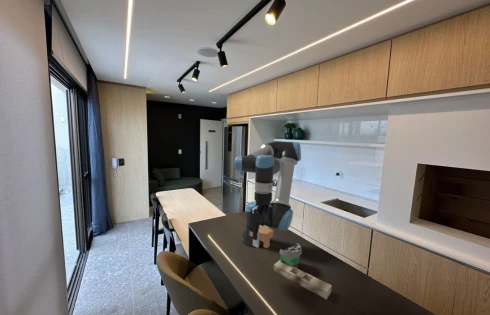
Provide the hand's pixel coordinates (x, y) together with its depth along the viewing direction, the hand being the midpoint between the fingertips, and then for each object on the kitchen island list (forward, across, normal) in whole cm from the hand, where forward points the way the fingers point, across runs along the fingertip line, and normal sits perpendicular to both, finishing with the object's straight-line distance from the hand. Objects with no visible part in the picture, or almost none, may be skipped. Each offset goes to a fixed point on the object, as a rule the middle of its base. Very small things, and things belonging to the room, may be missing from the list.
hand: (260, 243), depth 88 cm
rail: (+15, +10, -15) cm, 23 cm away
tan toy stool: (0, 0, 0) cm, 0 cm away
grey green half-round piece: (+16, +15, -8) cm, 23 cm away
